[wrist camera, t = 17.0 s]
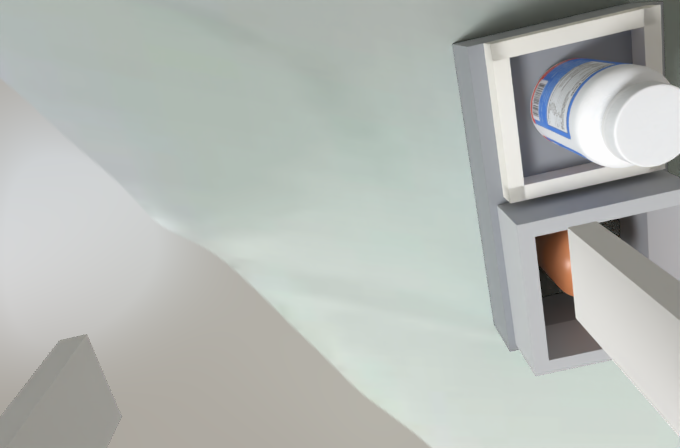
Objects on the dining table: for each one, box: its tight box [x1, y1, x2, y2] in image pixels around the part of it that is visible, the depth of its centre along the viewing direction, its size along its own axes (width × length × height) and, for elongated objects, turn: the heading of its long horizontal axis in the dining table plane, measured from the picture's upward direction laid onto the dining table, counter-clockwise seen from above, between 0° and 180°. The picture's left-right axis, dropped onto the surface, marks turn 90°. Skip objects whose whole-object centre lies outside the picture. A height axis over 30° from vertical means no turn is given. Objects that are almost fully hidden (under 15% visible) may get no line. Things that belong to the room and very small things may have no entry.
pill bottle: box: [530, 58, 680, 168], centre depth 32 cm, size 6×5×10 cm
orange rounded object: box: [535, 230, 574, 297], centre depth 42 cm, size 5×5×4 cm
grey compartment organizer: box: [452, 1, 680, 376], centre depth 39 cm, size 22×12×8 cm, turn 13°
